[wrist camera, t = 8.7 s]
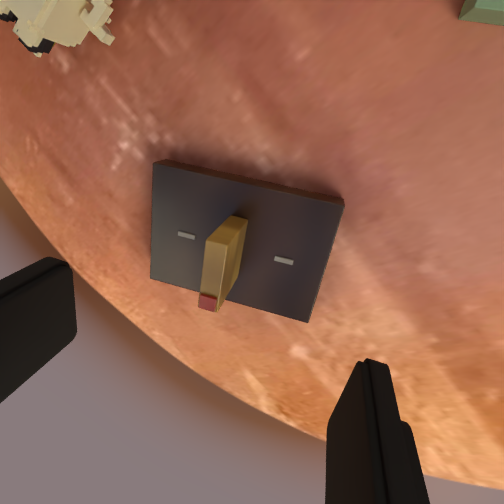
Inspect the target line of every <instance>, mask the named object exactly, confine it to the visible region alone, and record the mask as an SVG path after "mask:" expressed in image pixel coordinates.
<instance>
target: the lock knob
mask: <svg viewBox="0 0 504 504" xmlns="http://www.w3.org/2000/svg"><path fill="white" fill-rule="evenodd" d="M247 224H248V220H247V219H243V218H240V217H236V216H232V215H230V216H229V217H228V218H227V219H226V220H225V221H224V222H223V223H222V224H221V225H220V226H219V227H218V228H217V229H216V230H215V231H214V232H213V233H212V234H211V235H210V236H209V237H208V238H207V239H206V243H205V252H204V260H203V268H202V277H201V285H200V293H199V302H198V307H199V308H202V309H205V310H209V311H212V312H218V311H219V309H220V307H221V305H222V304H223V302H224V300H225V298H226V297H227V295H228V293H229V291H230V290H231V288H232V286H233V284H234V283H235V281H236V279H237V278H238V273H239V268H240V262H241V257H242V251H243V246H244V240H245V235H246V229H247Z"/></svg>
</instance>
